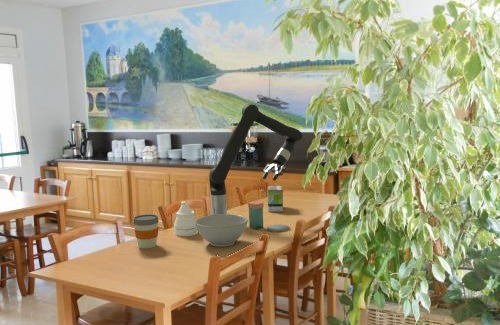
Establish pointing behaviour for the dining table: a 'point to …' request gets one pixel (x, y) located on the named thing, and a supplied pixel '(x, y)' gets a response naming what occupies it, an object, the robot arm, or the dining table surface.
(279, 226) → the slate mat
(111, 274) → the dining table surface
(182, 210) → the honey pot
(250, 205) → the tin lid
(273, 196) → the tea box
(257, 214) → the tea tin
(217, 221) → the decorative bowl
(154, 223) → the reusable coffee cup
